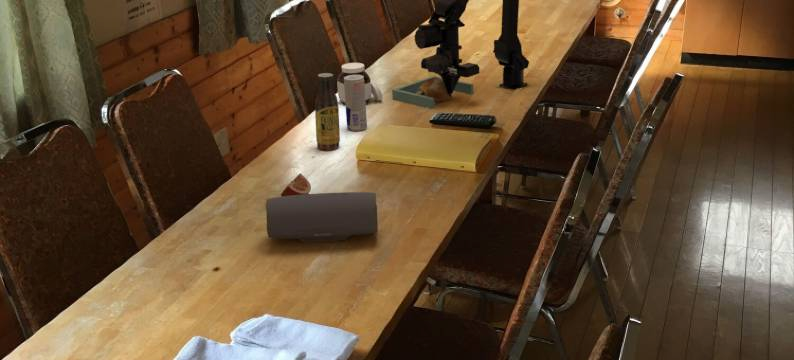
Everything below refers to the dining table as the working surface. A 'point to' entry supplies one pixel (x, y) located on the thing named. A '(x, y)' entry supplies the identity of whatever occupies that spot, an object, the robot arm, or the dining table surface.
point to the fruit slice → (297, 187)
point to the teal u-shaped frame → (409, 95)
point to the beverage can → (355, 102)
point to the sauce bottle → (327, 114)
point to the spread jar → (370, 85)
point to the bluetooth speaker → (322, 216)
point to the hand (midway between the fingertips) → (450, 94)
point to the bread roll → (434, 90)
